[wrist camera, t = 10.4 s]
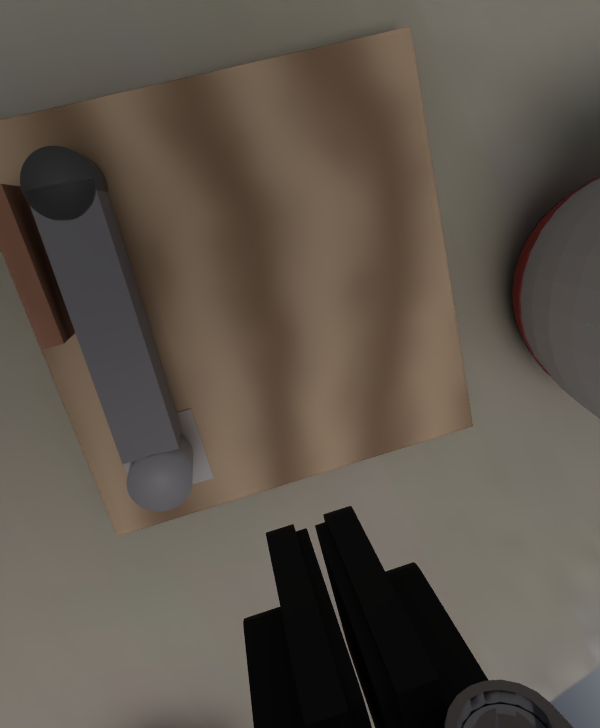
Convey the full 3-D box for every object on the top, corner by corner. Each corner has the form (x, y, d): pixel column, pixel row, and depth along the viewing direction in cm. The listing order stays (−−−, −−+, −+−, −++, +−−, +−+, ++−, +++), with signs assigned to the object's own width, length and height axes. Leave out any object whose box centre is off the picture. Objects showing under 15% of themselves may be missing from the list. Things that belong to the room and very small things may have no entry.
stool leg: (200, 474, 30) (199, 501, 28) (143, 490, 30) (137, 519, 27) (98, 146, 25) (85, 138, 22) (28, 161, 25) (6, 154, 22)
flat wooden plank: (121, 517, 33) (107, 575, 28) (-30, 136, 26) (-88, 118, 21) (458, 414, 35) (503, 449, 30) (396, 38, 28) (440, -1, 23)
